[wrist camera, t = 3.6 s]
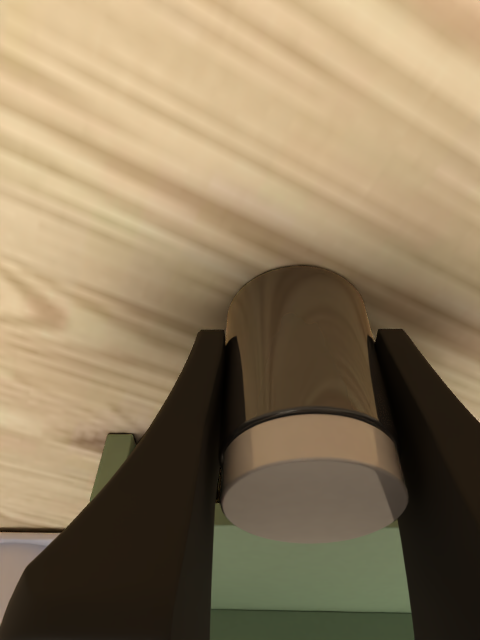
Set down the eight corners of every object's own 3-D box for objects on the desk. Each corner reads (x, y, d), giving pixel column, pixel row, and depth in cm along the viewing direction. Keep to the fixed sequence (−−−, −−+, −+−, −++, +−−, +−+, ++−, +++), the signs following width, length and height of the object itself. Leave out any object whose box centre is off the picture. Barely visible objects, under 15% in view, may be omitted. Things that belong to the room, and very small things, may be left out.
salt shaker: (230, 364, 15) (220, 545, 11) (223, 265, 12) (206, 455, 8) (354, 364, 15) (392, 547, 11) (376, 263, 12) (439, 456, 8)
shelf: (149, 537, 25) (124, 691, 20) (107, 433, 18) (53, 631, 13) (490, 542, 24) (549, 702, 19) (583, 435, 17) (710, 645, 12)
